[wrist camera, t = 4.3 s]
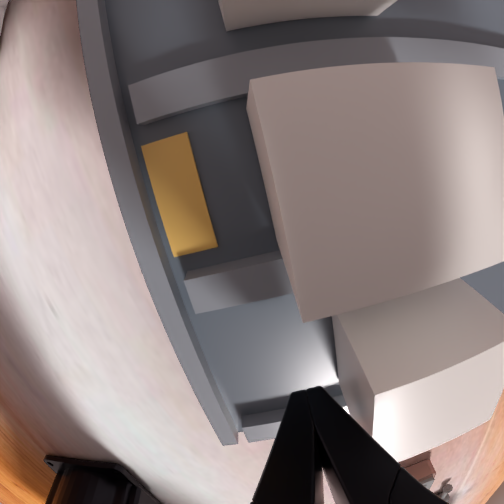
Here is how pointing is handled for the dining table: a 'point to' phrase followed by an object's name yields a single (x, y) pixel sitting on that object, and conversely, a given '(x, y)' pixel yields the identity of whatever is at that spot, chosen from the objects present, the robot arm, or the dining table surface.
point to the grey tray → (239, 177)
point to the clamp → (428, 477)
